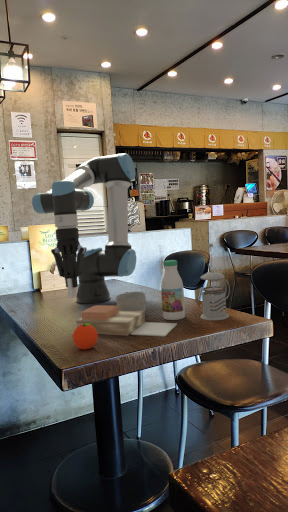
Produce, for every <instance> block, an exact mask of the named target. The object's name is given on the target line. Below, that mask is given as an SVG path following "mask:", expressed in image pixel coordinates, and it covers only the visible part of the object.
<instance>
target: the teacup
mask: <svg viewBox="0 0 288 512" xmlns="http://www.w3.org/2000/svg"><path fill="white" fill-rule="evenodd" d="M115 300H116V306H118V310H130V311H146V310H147V301H146V292H144V291H125V292H124V293H120V294H118V295H116V296H115Z"/></svg>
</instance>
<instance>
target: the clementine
mask: <svg viewBox="0 0 288 512" xmlns="http://www.w3.org/2000/svg"><path fill="white" fill-rule="evenodd" d="M89 324H90V323H87V324H83V325H80V326H78V327H77V326H76V328H75V329H74V331H73V334H72V341H73V343H74V346H76V347H77V348H79V349H81V350H88V349H92V348H93V347H94V346H95V345H96V344H97V341H98V339H99V334H97V331H96V329H95V328H94V327H93V326H91V325H89ZM93 325H94V324H93ZM94 326H95V325H94ZM95 327H96V326H95Z"/></svg>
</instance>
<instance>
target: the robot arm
mask: <svg viewBox="0 0 288 512" xmlns="http://www.w3.org/2000/svg"><path fill="white" fill-rule="evenodd" d="M135 178H136V167H135V163H134V161H133V159H132V157H131V156H130V155H129V154H128V153H117V154H110V155H104V156H96V157H93V158H92V159H89V160H87V161H85V162H83V163H82V164H80V165H79V166H78V167H76V168H75V170H74V172H73V173H72V174H70V175H68V177H66V178H65V179H63V180H57V181H56V180H55V181H53V182H52V184H51V188H50V189H49V190H47V191H45V192H39V193H37V194H34V195H33V197H32V199H31V207H32V208H33V210H34V212H35V213H37V214H46V215H47V214H53V215H54V217H53V218H54V227H55V228H56V229H55V239H56V241H57V243H56V246H55V247H54V248H51V250H50V252H51V254H52V255H53V257H54V261H55V264H56V267H57V271H58V275H59V277H62V278H64V281H65V288H67V294H68V299H73V298H75V299H76V303H79V304H97V303H102V302H105V301H108V300H110V299H111V292H110V291H109V289H108V287H107V283H106V279H105V278H106V277H107V278H112V277H116V278H117V277H119V278H120V277H121V278H122V277H128V276H131V275H132V274H133V273H134V271H135V270H136V266H137V252H136V250H134V249H132V245H131V243H130V242H129V229H128V228H129V225H128V224H129V221H128V219H129V218H128V217H129V216H128V214H129V211H128V209H129V208H128V207H129V206H128V202H129V200H128V189H129V187H130V186H131V185H132V181H133V180H135ZM97 184H104V186H105V187H106V188H107V203H108V204H107V205H108V206H107V207H108V208H107V212H108V214H107V219H108V220H107V221H108V223H107V227H108V231H107V234H108V235H107V236H108V239H107V240H108V242H107V243H106V244H105V245H104V250H103V248H102V247H101V246H100V247H95V248H90V249H87V247H84V246H82V245H81V243H80V241H79V239H80V236H79V235H80V234H79V228H78V225H79V223H78V215H77V214H78V213H77V212H78V211H80V212H82V211H83V212H84V211H85V212H86V211H88V210H90V209H92V208H93V206H94V203H95V198H94V195H93V193H92V192H90V191H89V190H86V189H85V188H88V187H89V188H90V187H91V186H92V185H97Z"/></svg>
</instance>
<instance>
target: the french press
mask: <svg viewBox="0 0 288 512" xmlns="http://www.w3.org/2000/svg"><path fill="white" fill-rule="evenodd" d="M207 248H210V249H209V250H210V251H212V248H214V244H213V243H211V242H210V243H208V244H207ZM212 257H213V256H212V255H210V263H211V264H210V266H211V267H213V261H212V260H213V259H212ZM225 277H226V276H225V275H224V274H223V273H220V272H217V271H213V270H211V271H210V272H205V273H204V274H202V275H201V276H200V279H201V280H204V281H212V282H211V283H212V284H214V281H217V280H219V281H218V282H219V283H220V284H224V285H225V287H227V285H228V290H227V288H225V287H224V286H217V285H216V286H214V285H212V286H204V287H203V288H202V290H203V292H201V300H202V314H201V315H200V316H199V317H200V318H201V319H202V320H205V321H221V320H226V319H229V317H230V315H229V314H228V313H227V304H226V300H227V299H228V297H229V296H230V293H231V292H230V291H231V288H230V284H229V282H228V280H227V279H225ZM221 280H222V281H221ZM226 283H227V284H226ZM224 289H225V291H224ZM227 291H228V295H227V296H226V293H227Z"/></svg>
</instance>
